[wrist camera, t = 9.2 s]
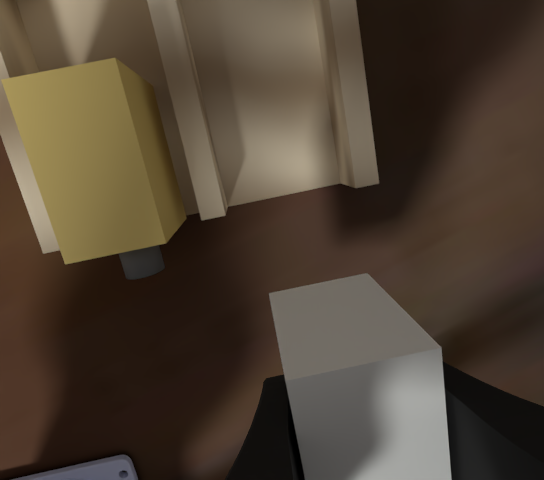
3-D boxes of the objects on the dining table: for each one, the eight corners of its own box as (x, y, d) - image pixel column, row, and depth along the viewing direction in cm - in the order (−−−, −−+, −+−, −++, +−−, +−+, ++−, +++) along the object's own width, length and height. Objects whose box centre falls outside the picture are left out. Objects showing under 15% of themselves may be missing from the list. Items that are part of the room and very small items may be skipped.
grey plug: (389, 447, 15) (460, 591, 10) (303, 466, 15) (333, 621, 10) (367, 273, 13) (441, 347, 8) (268, 293, 13) (285, 380, 8)
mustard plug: (194, 248, 18) (177, 283, 13) (122, 263, 18) (79, 304, 13) (152, 85, 16) (115, 57, 12) (72, 101, 16) (0, 79, 11)
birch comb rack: (365, 176, 19) (390, 181, 16) (67, 237, 18) (30, 256, 15) (331, -78, 16) (353, -135, 13) (-18, -13, 16) (-84, -54, 13)
